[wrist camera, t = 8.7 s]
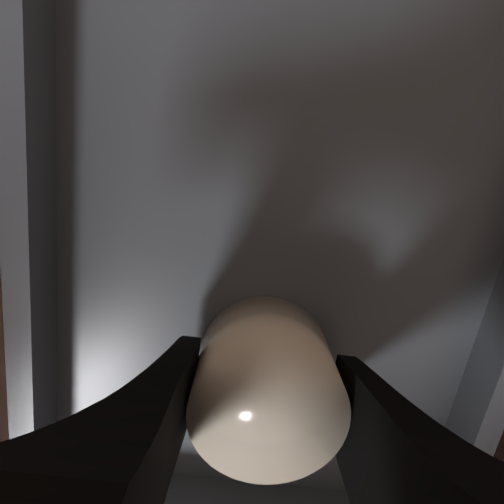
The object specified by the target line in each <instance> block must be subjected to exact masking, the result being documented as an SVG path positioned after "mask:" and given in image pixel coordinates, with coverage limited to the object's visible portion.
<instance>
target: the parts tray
mask: <svg viewBox="0 0 504 504" xmlns="http://www.w3.org/2000/svg"><path fill="white" fill-rule="evenodd" d="M0 267H1V287H2V307H3V327H4V347H5V367H6V387H7V407H8V427H9V439H12V438H15V437H18V436H21V435H24V434H27V433H30V432H32V431H35V430H38V429H40V428H43V427H45V426H48V425H50V424H53V423H55V422H57V421H60V420H62V419H64V418H66V417H69V416H71V415H73V414H75V413H77V412H79V411H81V410H83V409H85V408H87V407H89V406H91V405H92V404H94V403H96V402H98V401H100V400H102V399H104V398H105V397H107V396H109V395H110V394H112V393H114V392H115V391H117V390H118V389H120V388H121V387H123V386H124V385H126V384H127V383H128V382H130V381H131V380H132V379H134V378H135V377H136V376H137V375H139V374H140V373H141V372H143V371H144V370H145V369H146V368H148V367H149V366H150V365H151V364H152V363H153V362H154V361H155V360H157V359H158V358H159V357H160V356H161V355H162V354H163V353H164V352H165V351H166V350H167V349H168V348H169V347H170V346H171V345H172V344H173V343H174V342H175V341H176V340H177V339H178V338H179V337H181V336H182V335H183V336H191V337H200V338H201V343H200V349H201V345H202V341H203V338H204V335H205V332H206V330H207V328H208V326H209V325H210V323H211V322H212V321H213V319H214V318H215V317H216V316H217V315H218V314H219V313H220V312H222V311H223V310H224V309H225V308H227V307H229V306H230V305H232V304H234V303H236V302H238V301H241V300H244V299H247V298H253V297H263V296H267V297H276V298H282V299H285V300H288V301H291V302H293V303H295V304H297V305H299V306H300V307H302V308H303V309H305V310H306V311H307V312H308V313H309V314H311V316H312V317H313V318H314V319H315V320H316V322H317V323H318V325H319V326H320V328H321V330H322V332H323V335H324V337H325V340H326V342H327V344H328V347H329V349H330V352H331V354H332V357H333V359H334V362H336V358H337V354H339V355H347V356H355V357H357V358H358V359H360V360H361V361H362V362H364V363H365V364H366V365H367V366H368V367H370V368H371V369H372V370H373V371H374V372H375V373H377V374H378V375H379V376H380V377H381V378H382V379H384V380H385V381H386V382H387V383H388V384H389V385H391V386H392V387H393V388H394V389H395V390H397V391H398V392H399V393H400V394H401V395H403V396H404V397H405V398H406V399H408V400H409V401H410V402H411V403H413V404H414V405H415V406H417V407H418V408H419V409H421V410H422V411H423V412H424V413H426V414H427V415H428V416H430V417H431V418H433V419H434V420H435V421H437V422H438V423H440V424H441V425H442V426H444V427H446V428H447V429H449V430H450V431H452V432H453V433H455V434H456V435H458V436H459V437H461V438H462V439H464V440H465V441H467V442H469V443H470V444H472V445H474V446H475V447H477V448H479V449H480V450H482V451H484V452H486V453H487V454H489V455H491V456H494V453H495V451H496V448H497V446H498V443H499V441H500V438H501V436H502V433H503V431H504V0H0ZM199 353H200V352H199ZM164 504H350V502H349V499H348V495H347V492H346V489H345V486H344V482H343V479H342V476H341V473H340V469H339V466H338V463H337V460H336V456H334V457H333V458H332V459H331V460H330V461H329V462H328V463H327V464H326V465H324V466H323V467H322V468H320V469H319V470H317V471H316V472H314V473H312V474H310V475H308V476H306V477H304V478H301V479H298V480H295V481H292V482H288V483H282V484H272V485H262V484H252V483H246V482H242V481H239V480H236V479H233V478H230V477H228V476H226V475H224V474H222V473H220V472H219V471H217V470H216V469H214V468H213V467H211V466H210V465H209V464H208V463H207V462H206V461H205V460H204V459H203V458H202V457H201V456H200V455H199V454H198V452H197V451H196V449H195V447H194V446H193V444H192V442H191V440H190V437H189V434H188V430H186V433H185V437H184V440H183V443H182V446H181V449H180V453H179V456H178V459H177V462H176V465H175V469H174V472H173V475H172V478H171V481H170V485H169V488H168V491H167V495H166V499H165V502H164Z"/></svg>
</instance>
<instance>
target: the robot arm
mask: <svg viewBox="0 0 504 504" xmlns="http://www.w3.org/2000/svg"><path fill="white" fill-rule="evenodd" d="M200 343H201V338H200V337H191V336H183V335H182V336H181V337H179V338H178V339H177V340H176V341H175V342H174V343H173V344H172V345H171V346H170V347H169V348H168V349H167V350H166V351H165V352H164V353H163V354H162V355H161V356H160V357H159V358H158V359H157V360H155V361H154V362H153V363H152V364H151V365H150V366H149V367H148V368H146V369H145V370H144V371H143V372H141V373H140V374H139V375H137V376H136V377H135V378H134V379H132V380H131V381H130V382H128V383H127V384H126V385H124V386H123V387H121V388H120V389H118V390H117V391H115V392H114V393H112V394H110V395H109V396H107V397H105V398H104V399H102V400H100V401H98V402H96V403H94V404H92V405H91V406H89V407H87V408H85V409H83V410H81V411H79V412H77V413H75V414H73V415H71V416H69V417H66V418H64V419H62V420H60V421H57V422H55V423H53V424H50V425H48V426H45V427H43V428H40V429H38V430H35V431H32V432H30V433H27V434H24V435H21V436H18V437H15V438H12V439H9V440H6V441H3V442H0V504H164V502H165V499H166V495H167V491H168V488H169V485H170V481H171V478H172V475H173V472H174V469H175V465H176V462H177V459H178V456H179V453H180V449H181V446H182V443H183V440H184V437H185V433H186V430H187V424H186V409H187V404H188V399H189V395H190V391H191V387H192V383H193V379H194V375H195V371H196V367H197V362H198V358H199V352H200ZM335 364H336V367H337V369H338V372H339V374H340V377H341V379H342V382H343V384H344V386H345V389H346V391H347V394H348V398H349V401H350V407H351V422H350V428H349V431H348V434H347V437H346V439H345V441H344V443H343V445H342V447H341V448H340V450H339V451H338V452H337V454H336V455H335V456H336V460H337V463H338V466H339V469H340V473H341V476H342V479H343V482H344V486H345V489H346V492H347V495H348V499H349V502H350V504H504V463H503V462H501V461H500V460H498V459H496V458H494V457H493V456H491V455H489V454H487V453H486V452H484V451H482V450H480V449H479V448H477V447H475V446H474V445H472V444H470V443H469V442H467V441H465V440H464V439H462V438H461V437H459V436H458V435H456V434H455V433H453V432H452V431H450V430H449V429H447V428H446V427H444V426H442V425H441V424H440V423H438V422H437V421H435V420H434V419H433V418H431V417H430V416H428V415H427V414H426V413H424V412H423V411H422V410H421V409H419V408H418V407H417V406H415V405H414V404H413V403H411V402H410V401H409V400H408V399H406V398H405V397H404V396H403V395H401V394H400V393H399V392H398V391H397V390H395V389H394V388H393V387H392V386H391V385H389V384H388V383H387V382H386V381H385V380H384V379H382V378H381V377H380V376H379V375H378V374H377V373H375V372H374V371H373V370H372V369H371V368H370V367H368V366H367V365H366V364H365V363H364V362H362V361H361V360H360V359H358V358H357V357H355V356H347V355H339V354H337V358H336V362H335Z"/></svg>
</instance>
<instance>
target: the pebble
mask: <svg viewBox="0 0 504 504" xmlns="http://www.w3.org/2000/svg"><path fill="white" fill-rule="evenodd" d="M350 422H351V407H350V401H349V398H348V394H347V391H346V389H345V386H344V384H343V382H342V379H341V377H340V374H339V372H338V369H337V367H336V364H335V362H334V359H333V357H332V354H331V352H330V349H329V347H328V344H327V342H326V340H325V337H324V335H323V332H322V330H321V328H320V326H319V325H318V323H317V322H316V320H315V319H314V318H313V317H312V316H311V314H309V313H308V312H307V311H306V310H305V309H303V308H302V307H300V306H299V305H297V304H295V303H293V302H291V301H288V300H285V299H282V298H276V297H267V296H263V297H253V298H247V299H244V300H241V301H238V302H236V303H234V304H232V305H230V306H229V307H227V308H225V309H224V310H223V311H222V312H220V313H219V314H218V315H217V316H216V317H215V318H214V319H213V321H212V322H211V323H210V325H209V326H208V328H207V330H206V332H205V335H204V338H203V341H202V345H201V349H200V353H199V358H198V362H197V367H196V371H195V375H194V379H193V383H192V387H191V391H190V395H189V399H188V404H187V409H186V424H187V430H188V434H189V437H190V440H191V442H192V444H193V446H194V447H195V449H196V451H197V452H198V454H199V455H200V456H201V457H202V458H203V459H204V460H205V461H206V462H207V463H208V464H209V465H210V466H211V467H213V468H214V469H216V470H217V471H219V472H220V473H222V474H224V475H226V476H228V477H230V478H233V479H236V480H239V481H242V482H246V483H252V484H262V485H272V484H282V483H288V482H292V481H295V480H298V479H301V478H304V477H306V476H308V475H310V474H312V473H314V472H316V471H317V470H319V469H320V468H322V467H323V466H324V465H326V464H327V463H328V462H329V461H330V460H331V459H332V458H333V457H334V456H335V455H336V454H337V452H338V451H339V450H340V448H341V447H342V445H343V443H344V441H345V439H346V437H347V434H348V431H349V428H350Z"/></svg>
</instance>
